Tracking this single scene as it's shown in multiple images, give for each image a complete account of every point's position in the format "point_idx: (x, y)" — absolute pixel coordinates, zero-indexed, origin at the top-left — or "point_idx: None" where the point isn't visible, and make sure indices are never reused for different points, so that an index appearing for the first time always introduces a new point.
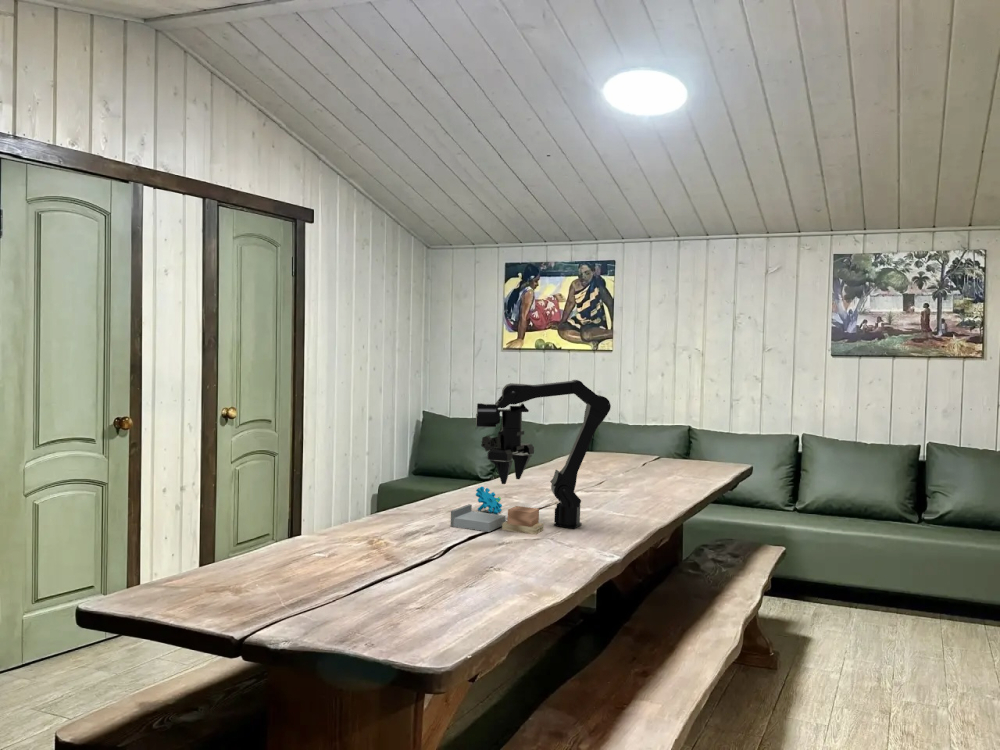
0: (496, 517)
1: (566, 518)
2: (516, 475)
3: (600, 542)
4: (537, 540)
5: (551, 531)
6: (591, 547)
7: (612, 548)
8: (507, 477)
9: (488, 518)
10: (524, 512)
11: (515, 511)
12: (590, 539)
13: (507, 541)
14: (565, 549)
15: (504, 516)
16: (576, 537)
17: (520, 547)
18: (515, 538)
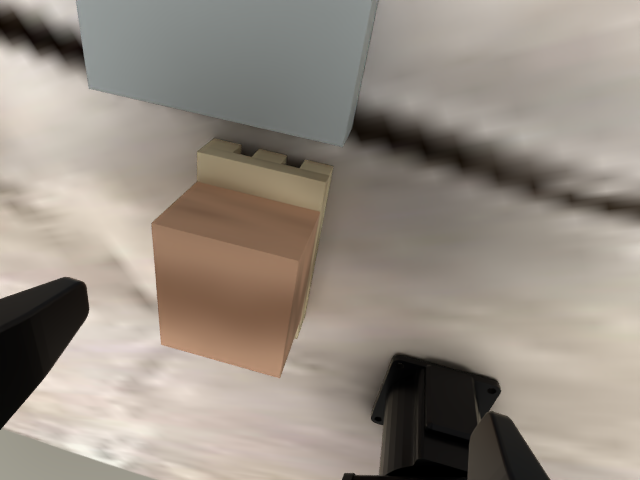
0: (257, 97)
1: (383, 427)
2: (491, 461)
3: (224, 454)
4: (129, 303)
5: (296, 343)
6: (155, 430)
7: (178, 467)
8: (15, 399)
9: (199, 47)
10: (160, 312)
11: (159, 265)
12: (244, 438)
13: (37, 202)
14: (86, 375)
15: (324, 142)
16: (248, 409)
17: (3, 258)
18: (101, 226)
